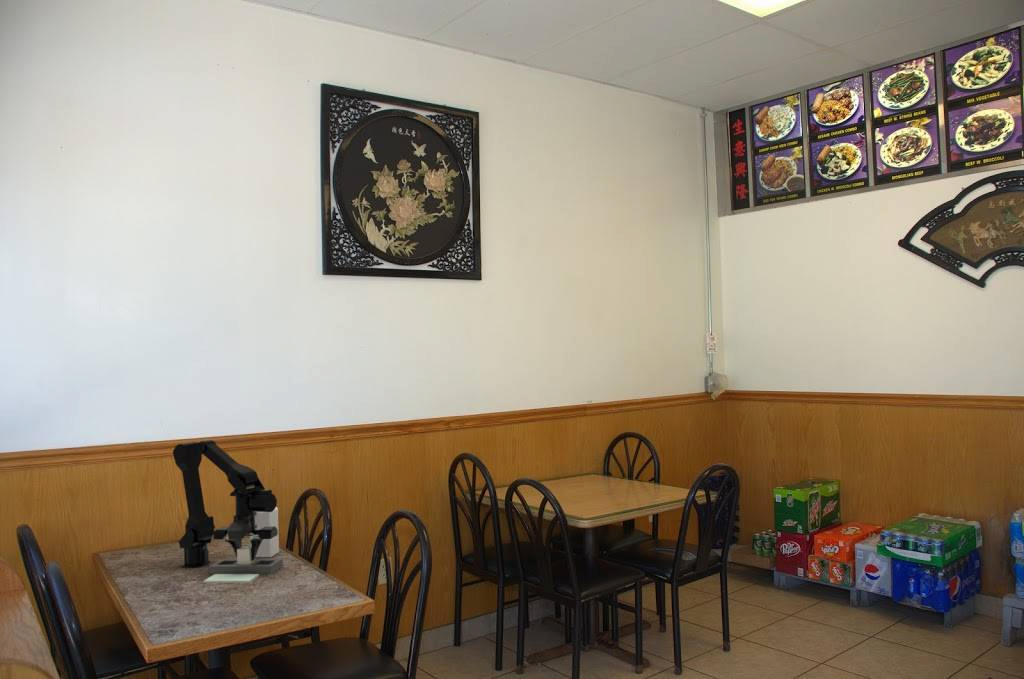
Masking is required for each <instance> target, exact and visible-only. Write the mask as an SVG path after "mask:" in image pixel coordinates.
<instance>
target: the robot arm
mask: <svg viewBox="0 0 1024 679" xmlns="http://www.w3.org/2000/svg"><path fill="white" fill-rule="evenodd" d="M172 454H173V455H172V456H173V459H174V463H175V466H176V467H178V469H179V470H180V471H181V474H182V479H183V487H184V492H185V499H186V507H187V512H188V517H187V520H186V522H185V526H184V527H185V531H184V534H183V536H182V537H181V538H180V540H179V541H178V545H179V547H180V549H183V552H184V553H183V558H184V560H183V563H184V564H181V568H201V567H203V566H204V565H206V564H208V563H211V562H210V561H211V560H209V548H208V544H210V543H211V542H212V540H223V539H225V540H224V541H225V543H228V544H229V545H230V546H231V547H232V549H233V552H234V553H235V555H236V557H237V549H239V548H241V547H242V546H243V545H242V542H243V541H242V540H243V539H244V538H245V537H250V536H253V539H252V540H250V539H249V543H250V542H251V544H252V547H251V559H252V561H253V560H254V559H256V557H255V556H256V554H257V551H258V549H259V546H260V544H261V542H262V540H263V539H272V538H273V537H275V536H277V535H278V533H279V529H278V530H277V528H276V527H263V528H262V529H260V530H255V529H256V528H257V525H255V516H256V515H257V512H255V511H258V512H272V511H273V510H274V509H275V508H276V507H277V504H278V499H277V497H276V495H275V494H274V493H273V490H272V489H265V486H264V484H263V483H262V481H261V480H260V478H259V477H258V473H257V471H256V470H254V469H253V468H251V467H249V466H248V465H244V464H242V463H239V462H238V461H236V460H235V459H233V457H232V456H230V455H229V454H228V453H227V452H226V451H224V450H223V449H222V448H221V447H220V446H218V445H217V443H216V441H214V440H212V439H207V440H201V441H200V442H195V441H192V442H184V443H178V444H177V445H175V447H174V449H173V450H172ZM202 455H203V456H205V458H207V460H209V461H211V463H212V464H214V465H215V466H216V467H217V468H218V469H220V471H221V472H223V473H224V474H225V475H226V479H227V481H228V483H229V484H230V486H232V488H233V490H232V491H231V492H230V494H229V496H230V497H235V500H234V501H235V503H234V504H235V515H233V520H232V522H231V523H230V525H229V526H221V527H219V528H217V529H216V526H215V523H214V519H215V518H214V516H213V515H211V516H209V514H208V513H207V512H206V509H205V502H204V496H203V490H202V484H201V477H200V476H201V475H200V471H199V469H200V466H201V462H202V460H203V458H202V457H203V456H202ZM212 538H213V539H212Z"/></svg>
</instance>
